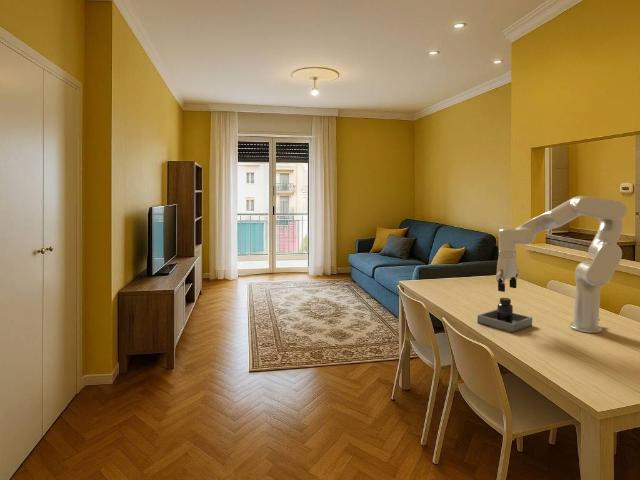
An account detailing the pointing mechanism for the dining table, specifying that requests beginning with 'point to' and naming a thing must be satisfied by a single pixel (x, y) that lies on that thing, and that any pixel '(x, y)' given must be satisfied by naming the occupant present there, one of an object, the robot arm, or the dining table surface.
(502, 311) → the supplement bottle
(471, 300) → the dining table surface
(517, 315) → the tray
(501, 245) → the robot arm
